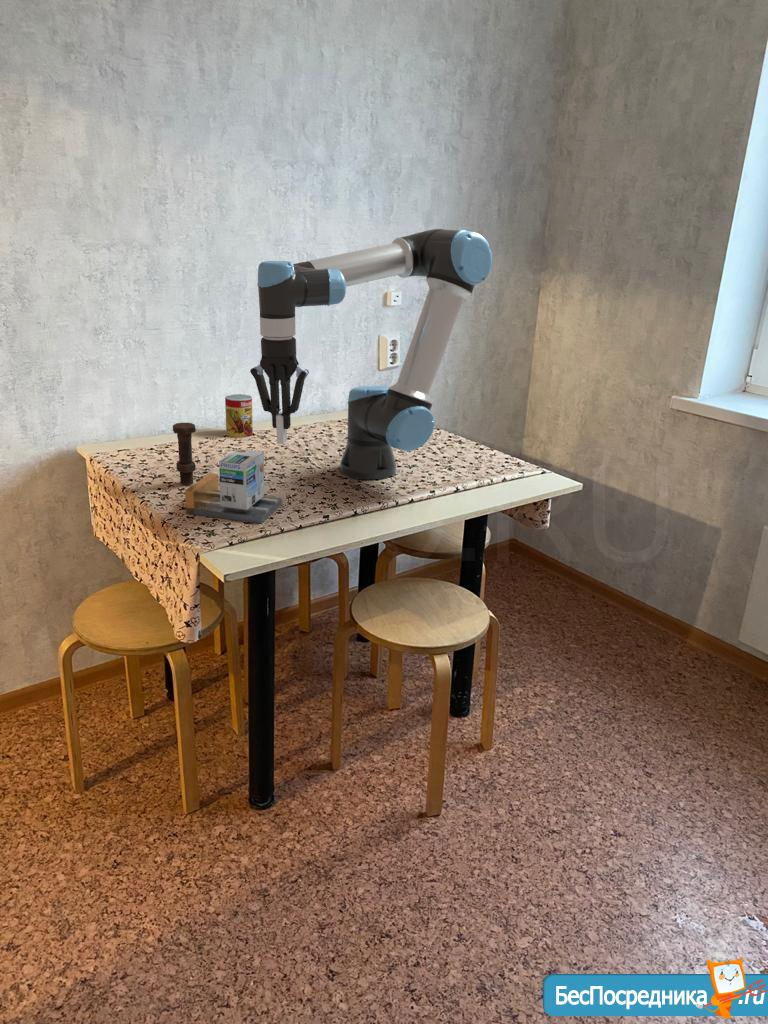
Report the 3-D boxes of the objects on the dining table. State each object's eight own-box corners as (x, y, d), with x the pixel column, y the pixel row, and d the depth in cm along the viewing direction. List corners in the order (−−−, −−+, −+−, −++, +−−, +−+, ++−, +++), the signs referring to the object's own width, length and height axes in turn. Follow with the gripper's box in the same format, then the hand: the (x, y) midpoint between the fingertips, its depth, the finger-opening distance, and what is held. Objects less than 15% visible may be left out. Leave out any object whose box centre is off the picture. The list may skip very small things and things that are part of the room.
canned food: (250, 440, 230) (249, 400, 226) (223, 438, 230) (222, 399, 226) (254, 433, 238) (254, 394, 233) (229, 431, 238) (228, 393, 233)
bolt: (183, 488, 188) (180, 429, 183) (170, 483, 191) (167, 425, 186) (202, 483, 193) (200, 425, 187) (189, 478, 196) (187, 421, 190)
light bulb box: (247, 510, 171) (246, 464, 167) (219, 507, 172) (217, 460, 168) (265, 495, 181) (265, 451, 177) (238, 491, 182) (237, 447, 178)
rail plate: (281, 504, 182) (281, 482, 180) (261, 523, 170) (261, 500, 168) (210, 495, 185) (210, 473, 183) (186, 513, 173) (185, 490, 171)
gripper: (312, 335, 168) (314, 439, 177) (255, 332, 170) (260, 435, 179) (302, 341, 161) (304, 449, 170) (243, 338, 163) (248, 444, 172)
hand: (282, 442), depth 175 cm, fingers closed
